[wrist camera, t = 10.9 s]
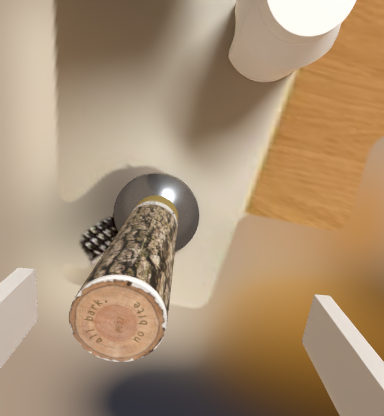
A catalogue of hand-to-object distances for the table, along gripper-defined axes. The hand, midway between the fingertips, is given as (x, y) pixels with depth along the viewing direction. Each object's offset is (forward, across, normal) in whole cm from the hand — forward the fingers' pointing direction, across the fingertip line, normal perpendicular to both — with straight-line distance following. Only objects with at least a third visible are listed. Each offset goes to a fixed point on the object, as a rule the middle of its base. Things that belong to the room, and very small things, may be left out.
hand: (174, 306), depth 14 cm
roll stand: (+31, -4, -6) cm, 32 cm away
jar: (+32, +9, +20) cm, 39 cm away
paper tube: (+30, -4, -6) cm, 31 cm away
